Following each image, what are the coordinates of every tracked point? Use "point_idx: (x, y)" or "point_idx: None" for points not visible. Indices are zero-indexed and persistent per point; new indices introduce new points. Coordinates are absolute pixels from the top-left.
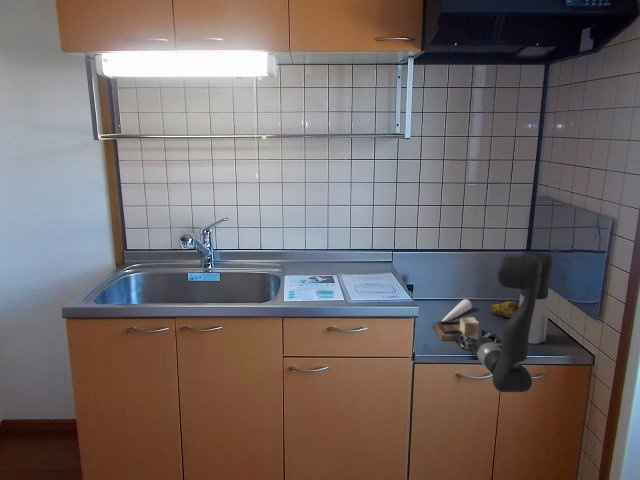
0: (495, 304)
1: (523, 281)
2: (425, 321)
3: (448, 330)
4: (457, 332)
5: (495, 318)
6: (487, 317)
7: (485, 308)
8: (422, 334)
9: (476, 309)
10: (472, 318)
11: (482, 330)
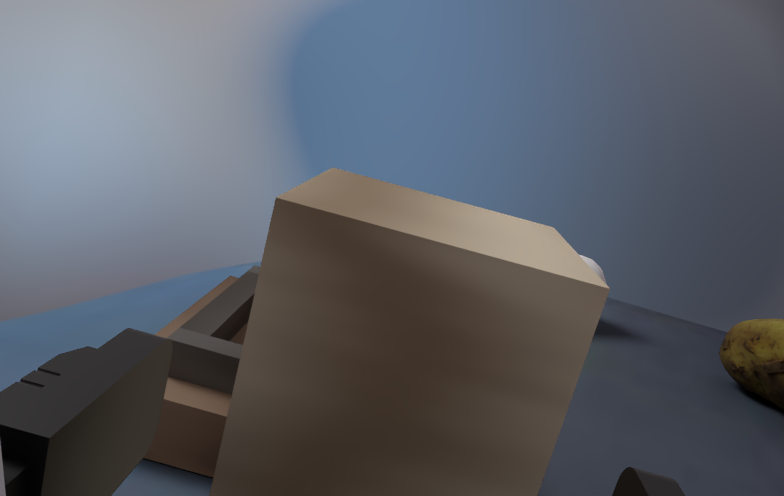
0: (770, 320)
1: None
2: None
3: (223, 347)
4: (59, 357)
5: (746, 413)
6: (689, 390)
7: (682, 345)
8: (30, 325)
9: (627, 333)
10: (520, 224)
11: (638, 491)
